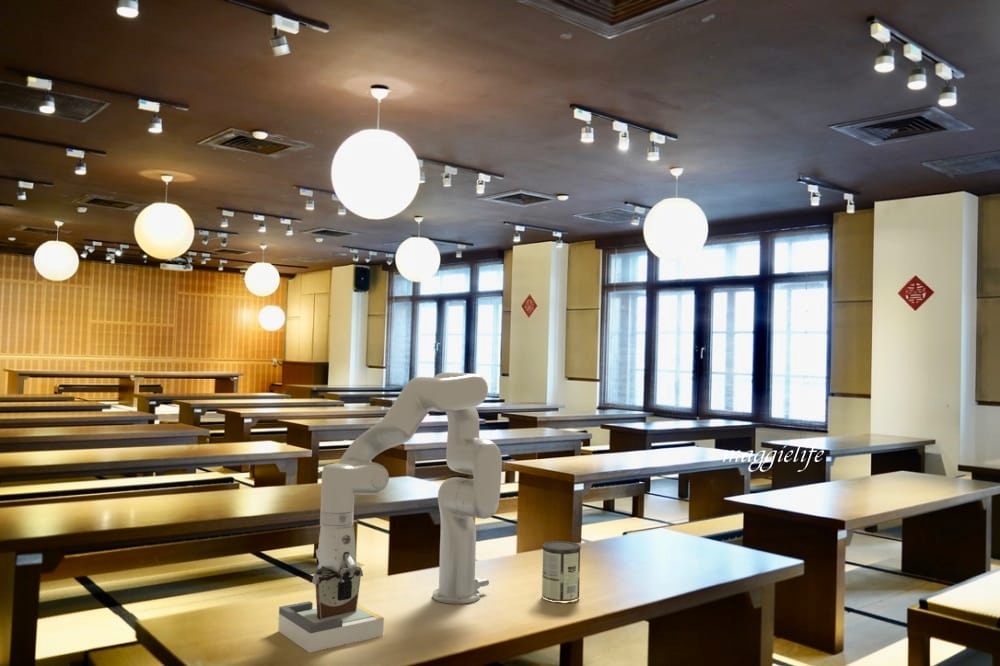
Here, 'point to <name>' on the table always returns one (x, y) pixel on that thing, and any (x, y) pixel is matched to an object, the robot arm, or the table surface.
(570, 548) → the coffee can
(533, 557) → the table surface
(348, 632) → the loading dock
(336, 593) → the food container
